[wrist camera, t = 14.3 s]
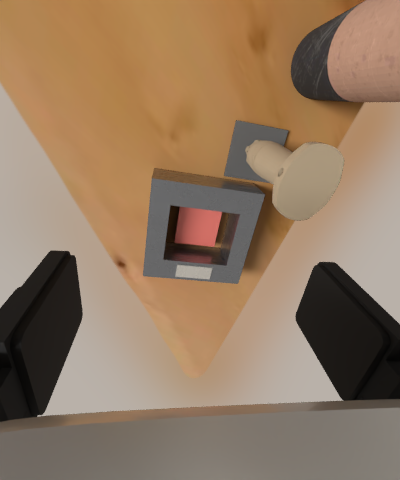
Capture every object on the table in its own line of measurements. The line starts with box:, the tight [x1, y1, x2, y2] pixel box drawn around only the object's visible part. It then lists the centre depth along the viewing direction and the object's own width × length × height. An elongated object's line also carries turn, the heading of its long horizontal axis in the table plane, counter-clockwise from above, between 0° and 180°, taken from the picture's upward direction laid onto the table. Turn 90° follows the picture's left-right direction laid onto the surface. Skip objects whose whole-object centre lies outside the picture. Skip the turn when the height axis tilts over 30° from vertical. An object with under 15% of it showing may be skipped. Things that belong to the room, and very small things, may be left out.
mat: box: [224, 120, 288, 183], centre depth 34 cm, size 7×7×1 cm
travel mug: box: [291, 0, 400, 102], centre depth 22 cm, size 8×8×20 cm
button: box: [175, 206, 222, 247], centre depth 38 cm, size 6×6×1 cm
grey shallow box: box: [143, 168, 265, 284], centre depth 36 cm, size 14×14×5 cm
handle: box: [245, 140, 344, 221], centre depth 28 cm, size 5×6×15 cm
